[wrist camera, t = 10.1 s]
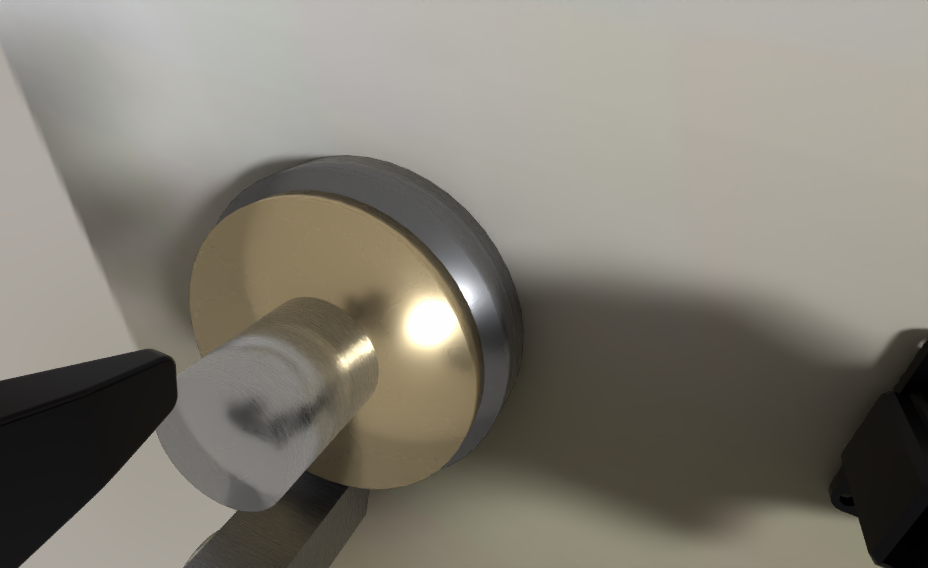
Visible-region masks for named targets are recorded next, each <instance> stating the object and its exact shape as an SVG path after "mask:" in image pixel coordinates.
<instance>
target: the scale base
mask: <svg viewBox="0 0 928 568" xmlns="http://www.w3.org/2000/svg"><path fill="white" fill-rule="evenodd" d="M300 190H314V191H323V192H331V193H335V194H339V195H342V196H346V197H350V198H353V199H355V200H358V201H360V202H363V203H365V204H368V205H370V206H372V207H374V208H376V209H378V210H379V211H381V212H383V213H385V214H387V215H388V216H390V217H392V218H393V219H395V220H396V221H397V222H399V223H400V224H402V225H403V226H404V227H406V228H407V229H409V230H410V231H411V232H412V233H413V234H414V235H415V236H417V237H418V238H419V239H420V240H421V241H422V242H423V243H424V244H425V245H427V246H428V247H429V249H430V250H431V251H432V252H433V253H434V254H435V255H436V256H437V258H438V259H439V260H440V261H441V262H442V263H443V264H444V266H445V267H446V269H447V270H448V271H449V273H450V274H451V276H452V277H453V278H454V280H455V281H456V283H457V284H458V286H459V288H460V290H461V292H462V293H463V295H464V297H465V299H466V301H467V302H468V305H469V307H470V309H471V312H472V314H473V317H474V319H475V322H476V324H477V328H478V332H479V335H480V339H481V343H482V348H483V356H484V363H485V382H484V390H483V396H482V402H481V405H480V407H479V410H478V413H477V416H476V419H475V420H474V422H473V424H472V426H471V428H470V430H469V431H468V433H467V435H466V437H465V438H464V440H463V442H462V443H461V445H460V447H459V449H458V450H457V451H456V453H455V454H454V455H453V456H452V458H451V459H450V460H449V461H448V462H447V463H446V464H445V465H444V466H443V467H441V468H440V469H442V468H445V467H448V466H450V465H452V464H453V463H455V462H457V461H458V460H460V459H462V458H464V457H465V456H466V455H467V454H468V453H469V452H471V451H472V450H473V449H474V448H475V447H476V446H477V445H478V444H479V443H480V442H481V440H482V439H483V438H484V437H485V436H486V434H487V433H488V431H489V430H490V428H491V426H492V424H493V422H494V421H495V419H496V417H497V415H498V413H499V412H500V410H501V408H502V406H503V404H504V402H505V400H506V398H507V397H508V395H509V393H510V391H511V389H512V387H513V385H514V382H515V379H516V377H517V374H518V371H519V367H520V361H521V356H522V349H523V326H522V316H521V309H520V305H519V301H518V297H517V293H516V289H515V286H514V284H513V281H512V279H511V276H510V273H509V271H508V268H507V267H506V265H505V263H504V261H503V259H502V257H501V255H500V253H499V251H498V250H497V248H496V246H495V245H494V244H493V242H492V241H491V239H490V238H489V236H488V235H487V233H486V232H485V231H484V229H483V228H482V227H481V226H480V224H479V223H478V222H477V221H476V220H475V219H474V218H473V217H472V215H471V214H470V213H469V212H468V211H467V210H466V209H465V208H464V207H463V206H462V205H460V204H459V203H458V202H457V201H456V200H455V199H454V198H453V197H452V196H450V195H449V194H448V193H446V192H445V191H444V190H442V189H441V188H439V187H438V186H436V185H435V184H434V183H432V182H431V181H429V180H427V179H425V178H423V177H422V176H420V175H418V174H416V173H414V172H412V171H410V170H408V169H405V168H403V167H400V166H398V165H395V164H392V163H390V162H386V161H382V160H377V159H373V158H369V157H359V156H333V157H325V158H321V159H316V160H312V161H309V162H306V163H303V164H301V165H298V166H295V167H292V168H290V169H287V170H284V171H282V172H279V173H276V174H274V175H271V176H269V177H267V178H264V179H262V180H260V181H257V182H256V183H254V184H253V185H251V186H250V187H248V188H247V189H245V190H244V191H242V192H241V193H240V194H239V195H238V196H237V197H236V198H235V199H234V200H233V201H232V202H231V203H230V204H229V206H228V207H227V208H226V210H225V211H224V213H223V214H222V215H221V217H220V219H219V221H218V223H217V224H219V223H220V222H221V221H222V220H223V219H224V218H225V217H227V216H228V215H230V214H231V213H233V212H235V211H236V210H238V209H240V208H242V207H245V206H247V205H249V204H252V203H254V202H257V201H259V200H262V199H264V198H267V197H269V196H272V195H274V194H279V193H284V192H288V191H300ZM440 469H439V470H440ZM368 494H369V489H366V488H358V487H352V486H347V485H343V484H339V483H336V482H333V481H329V480H327V479H324V478H322V477H319V476H317V475H314V474H312V473H310V472H308V471H306V470H305V471H304V473H303V474H302V475H301V476H300V477H299V478H298V479H297V480H296V482H295V483H294V484H293V485H292V486H291V487H290V488H289V489H288V491H287V492H286V493H285V494H284V495H283V496H282V497H281V498H280V500H279V501H278V502H277V503H276V504H275V505H273V506H272V507H271V508H268V509H266V510H263V511H258V512H247V511H240V510H238V511H237V512H236V513H235V514H234V515H233V516H232V517H231V518H230V519H229V520H228V521H227V523H226V524H225V525H224V526H223V527H222V528H221V529H220V530H218V531H216V532H215V533H213V534H212V535H211V536H209V537H208V538H207V539H206V540H205V541H204V542H203V543H202V544H201V545H200V546H199V547H198V548H197V549H196V551H195V552H194V553H193V554H192V556H191V557H190V558H189V560H188V561H187V563H186V564H185V566H184V567H183V568H329V567H330V565H331V564H332V562H333V561H334V560H335V558H336V557H337V555H338V554H339V552H340V551H341V549H342V548H343V547H344V545H345V544H346V542H347V541H348V539H349V538H350V536H351V535H352V534H353V532H354V531H355V529H356V528H357V526H358V525H359V523H360V522H361V521H362V519H363V518H364V516H365V515H366V508H367V501H368Z"/></svg>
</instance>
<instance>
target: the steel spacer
mask: <svg viewBox="0 0 928 568" xmlns="http://www.w3.org/2000/svg"><path fill="white" fill-rule="evenodd" d="M176 376H177V390H178V398H177V402H176V405H175V407H174V408H173V410H172V411H171V413H170V414H169V415H168V416H167V417H166V418H165V419H164V421H163V422H162V423H161V424H160V425H159V426H158V427H157V428H156V432H157V435H158V438H159V440H160V442H161V445H162V446H163V449H164V450H165V452H166V454H167V455H168V457H169V458H170V460H171V461H172V463H173V464H174V466H175V467H176V468H177V469H178V470H179V472H180V473H181V474H182V475H183V476H184V477H185V478H186V479H187V480H188V481H189V482H190V483H191V484H192V485H193V486H195V487H196V488H197V489H198V490H200V491H201V492H202V493H203V494H205V495H206V496H208V497H210V498H211V499H213V500H215V501H216V502H218V503H220V504H222V505H225V506H227V507H230V508H233V509H236V510H240V511H247V512H258V511H263V510H266V509H268V508H271V507H272V506H273V505H275V504H276V503H277V502H278V501H279V500H280V498H281V497H282V496H283V495H284V494H285V493H286V492H287V491H288V489H289V488H290V487H291V486H292V485H293V484H294V483H295V482H296V480H297V479H298V478H299V477H300V476H301V475H302V474H303V473H304V471H305V470H306V469H307V468H308V467H309V466H310V465H311V464H312V462H313V461H314V460H315V459H316V458H317V457H318V456H319V455H320V454H321V452H322V451H323V450H324V449H325V448H326V447H327V446H328V445H329V443H330V442H331V441H332V440H333V439H334V438H335V437H336V436H337V434H338V433H339V432H340V431H341V430H342V429H343V428H344V427H345V425H346V424H347V423H348V422H349V421H350V420H351V419H352V418H353V416H354V415H355V414H356V413H357V412H358V411H359V410H360V409H361V407H362V406H363V405H364V404H365V403H366V402H367V401H368V400H369V398H370V397H371V396H372V395H373V393H374V391H375V389H376V386H377V383H378V378H379V367H378V360H377V356H376V353H375V350H374V347H373V345H372V343H371V341H370V339H369V338H368V336H367V334H366V333H365V331H364V330H363V329H362V327H361V326H360V325H359V324H358V323H357V322H356V321H355V320H354V319H353V318H352V317H351V316H350V315H349V314H348V313H346V312H345V311H344V310H342V309H341V308H339V307H337V306H336V305H334V304H332V303H330V302H327V301H325V300H322V299H318V298H313V297H297V298H293V299H290V300H288V301H286V302H284V303H283V304H281V305H280V306H278V307H277V308H275V309H274V310H272V311H271V312H269V313H268V314H266V315H265V316H263V317H262V318H260V319H259V320H258V321H256V322H255V323H253V324H252V325H250V326H249V327H247V328H246V329H244V330H243V331H241V332H240V333H238V334H237V335H235V336H234V337H232V338H231V339H229V340H228V341H227V342H225V343H224V344H222V345H221V346H219V347H218V348H216V349H215V350H213V351H212V352H210V353H209V354H207V355H206V356H204V357H203V358H201V359H200V360H199V361H197V362H196V363H194V364H193V365H191V366H190V367H188V368H187V369H185V370H184V371H182V372H181V373H179V374H178V375H176Z"/></svg>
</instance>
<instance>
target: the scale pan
mask: <svg viewBox="0 0 928 568" xmlns="http://www.w3.org/2000/svg"><path fill="white" fill-rule="evenodd" d="M297 297H313V298H318V299H322V300H325V301H327V302H330V303H332V304H334V305H336V306H337V307H339V308H341V309H342V310H344V311H345V312H346V313H348V314H349V315H350V316H351V317H352V318H353V319H354V320H355V321H356V322H357V323H358V324H359V325H360V326H361V327H362V329H363V330H364V331H365V333H366V334H367V336H368V338H369V339H370V341H371V343H372V345H373V347H374V350H375V353H376V356H377V360H378V367H379V378H378V383H377V386H376V389H375V391H374V393H373V395H372V396H371V397H370V398H369V400H368V401H367V402H366V403H365V404H364V405H363V406H362V407H361V409H360V410H359V411H358V412H357V413H356V414H355V415H354V416H353V418H352V419H351V420H350V421H349V422H348V423H347V424H346V425H345V427H344V428H343V429H342V430H341V431H340V432H339V433H338V434H337V436H336V437H335V438H334V439H333V440H332V441H331V442H330V443H329V445H328V446H327V447H326V448H325V449H324V450H323V451H322V452H321V454H320V455H319V456H318V457H317V458H316V459H315V460H314V461H313V462H312V464H311V465H310V466H309V467H308V468H307V469H306V471H308V472H310V473H312V474H314V475H317V476H319V477H322V478H324V479H327V480H329V481H333V482H336V483H339V484H343V485H347V486H352V487H358V488H366V489H389V488H397V487H402V486H407V485H410V484H413V483H416V482H418V481H421V480H423V479H425V478H427V477H428V476H430V475H432V474H434V473H435V472H437V471H438V470H439V469H440V468H441V467H443V466H444V465H445V464H446V463H447V462H448V461H449V460H450V459H451V458H452V456H453V455H454V454H455V453H456V451H457V450H458V449H459V447H460V445H461V443H462V442H463V440H464V438H465V437H466V435H467V433H468V431H469V430H470V428H471V426H472V424H473V422H474V420H475V419H476V416H477V413H478V410H479V407H480V405H481V402H482V396H483V390H484V382H485V363H484V356H483V348H482V343H481V339H480V335H479V332H478V328H477V324H476V322H475V319H474V317H473V314H472V312H471V309H470V307H469V305H468V302H467V301H466V299H465V297H464V295H463V293H462V292H461V290H460V288H459V286H458V284H457V283H456V281H455V280H454V278H453V277H452V276H451V274H450V273H449V271H448V270H447V269H446V267H445V266H444V264H443V263H442V262H441V261H440V260H439V259H438V258H437V256H436V255H435V254H434V253H433V252H432V251H431V250H430V249H429V247H428V246H427V245H425V244H424V243H423V242H422V241H421V240H420V239H419V238H418V237H417V236H415V235H414V234H413V233H412V232H411V231H410V230H409V229H407V228H406V227H404V226H403V225H402V224H400V223H399V222H397V221H396V220H395V219H393V218H392V217H390V216H388V215H387V214H385V213H383V212H381V211H379V210H378V209H376V208H374V207H372V206H370V205H368V204H365V203H363V202H360V201H358V200H355V199H353V198H350V197H346V196H342V195H339V194H335V193H331V192H323V191H314V190H300V191H288V192H284V193H279V194H274V195H272V196H269V197H267V198H264V199H262V200H259V201H257V202H254V203H252V204H249V205H247V206H245V207H242V208H240V209H238V210H236V211H235V212H233V213H231V214H230V215H228V216H227V217H225V218H224V219H223V220H222V221H221V222H220V223H219V224H217V225H216V226H215V227H214V228H213V229H212V231H211V232H210V233H209V235H208V236H207V237H206V239H205V240H204V242H203V244H202V246H201V248H200V250H199V252H198V254H197V256H196V259H195V263H194V266H193V269H192V274H191V281H190V313H191V322H192V326H193V330H194V335H195V339H196V342H197V345H198V348H199V351H200V354H201V356H202V358H203V357H204V356H206V355H207V354H209V353H210V352H212V351H213V350H215V349H216V348H218V347H219V346H221V345H222V344H224V343H225V342H227V341H228V340H229V339H231V338H232V337H234V336H235V335H237V334H238V333H240V332H241V331H243V330H244V329H246V328H247V327H249V326H250V325H252V324H253V323H255V322H256V321H258V320H259V319H260V318H262V317H263V316H265V315H266V314H268V313H269V312H271V311H272V310H274V309H275V308H277V307H278V306H280V305H281V304H283V303H284V302H286V301H288V300H290V299H293V298H297Z"/></svg>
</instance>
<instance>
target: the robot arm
mask: <svg viewBox="0 0 928 568" xmlns="http://www.w3.org/2000/svg"><path fill="white" fill-rule="evenodd" d="M177 398H178V390H177V376H176V364H175V361H174V359H173V358H172V357H170V356H168V355H166V354H164V353H162V352H159V351H157V350H154V349H143V350H139V351H135V352H130V353H126V354H121V355H116V356H112V357H107V358H102V359H98V360H93V361H89V362H84V363H80V364H76V365H70V366H66V367H62V368H57V369H52V370H48V371H43V372H38V373H34V374H29V375H25V376H20V377H16V378H11V379H6V380H2V381H0V568H19V567H20V566H21V564H23V563H24V562H25V561H26V560H27V559H28V558H29V557H30V556H31V555H32V554H33V553H35V551H37V550H38V549H39V548H40V547H41V546H42V545H43V544H44V543H45V542H46V541H47V540H48V539H49V538H51V536H53V535H54V534H55V533H56V532H57V531H58V530H59V529H60V528H61V527H62V526H63V525H64V524H65V523H66V522H67V521H69V520H70V519H71V518H72V517H73V516H74V515H75V514H76V513H77V512H78V511H79V510H80V509H81V508H82V507H84V506H85V504H87V503H88V502H89V501H90V500H91V499H92V498H93V497H94V496H95V495H96V494H97V493H98V492H99V491H100V490H101V489H102V488H103V487H104V486H105V485H106V484H107V483H108V482H109V481H110V480H111V479H112V478H113V477H114V475H115V474H116V473H117V472H118V471H119V470H120V469H121V468H122V467H123V466H124V464H125V463H126V462H127V461H128V460H129V459H130V458H131V457H132V455H133V454H134V453H135V452H136V451H137V449H139V447H140V446H141V445H142V444H143V443H144V442H145V441H146V440H147V439H148V437H149V436H150V435H151V434H152V433H153V432H154V431H155V430H156V428H157V427H158V426H159V425H160V424H161V423H162V422H163V421H164V419H165V418H166V417H167V416H168V415H169V414H170V413H171V411H172V410H173V408H174V407H175V405H176V402H177ZM841 458H842V462H843V466H842V467H841V469H840V470H839V472H838V473H837V475H836V476H835V478H834V479H833V481H832V482H831V484H830V486H829V489H828V490H829V494H830V498H831V502H832V504H833V505H834V506H835V507H836V508H837V509H839V510H841V511H843V512H846V513H848V514H851V515H854V516H856V517H858V518H859V522H860V525H861V529H862V532H863V536H864V539H865V543H866V546H867V550H868V553H869V555H870V556H871V558H872V560H873V562H874V564H875V565H877V566H880V567H882V568H928V341H927V342H926V343H925V344H924V345H923V346H922V348H921V349H920V351H919V352H918V354H917V355H916V357H915V358H914V360H913V361H912V363H911V364H910V366H909V367H908V369H907V370H906V372H905V373H904V375H903V376H902V378H901V379H900V381H899V382H898V384H897V385H896V387H895V388H894V390H893V391H889V392H887V393H885V394H882V395H881V396H880V397H879V398H878V400H877V401H876V403H875V404H874V406H873V408H872V409H871V411H870V412H869V414H868V415H867V417H866V418H865V420H864V421H863V423H862V424H861V426H860V427H859V429H858V430H857V432H856V433H855V435H854V436H853V438H852V439H851V441H850V442H849V444H848V445H847V447H846V448H845V450H844V451H843V453H842V455H841ZM846 493H850V494H852V497H848V498H847V497H843V496H841V495H843V494H846Z"/></svg>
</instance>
